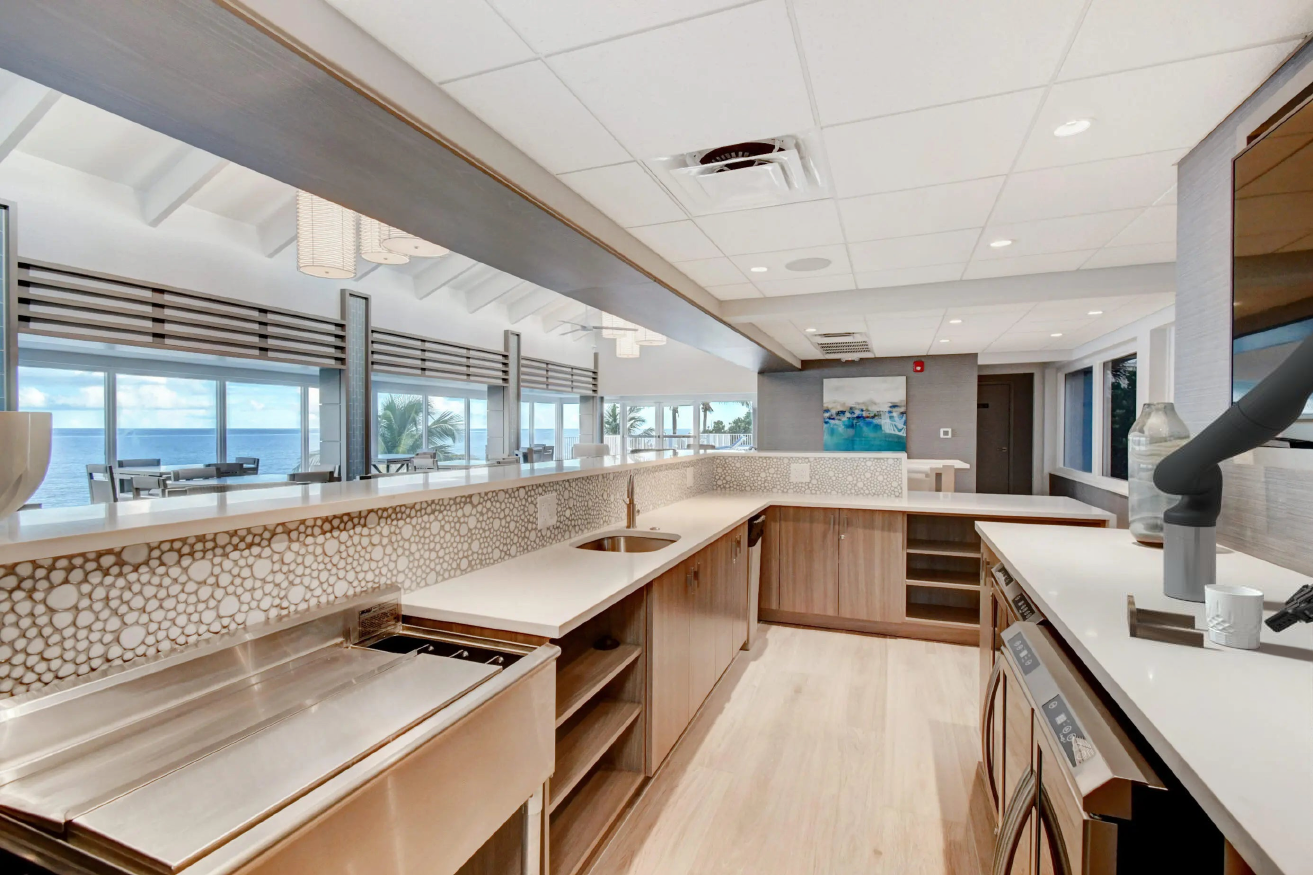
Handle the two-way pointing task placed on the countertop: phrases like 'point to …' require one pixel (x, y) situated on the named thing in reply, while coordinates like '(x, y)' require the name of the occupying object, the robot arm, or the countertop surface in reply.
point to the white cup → (1234, 615)
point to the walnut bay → (1162, 632)
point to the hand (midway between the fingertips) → (1269, 627)
